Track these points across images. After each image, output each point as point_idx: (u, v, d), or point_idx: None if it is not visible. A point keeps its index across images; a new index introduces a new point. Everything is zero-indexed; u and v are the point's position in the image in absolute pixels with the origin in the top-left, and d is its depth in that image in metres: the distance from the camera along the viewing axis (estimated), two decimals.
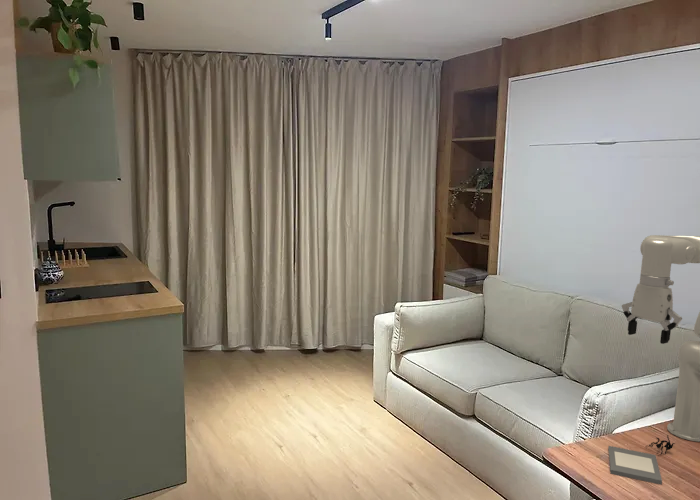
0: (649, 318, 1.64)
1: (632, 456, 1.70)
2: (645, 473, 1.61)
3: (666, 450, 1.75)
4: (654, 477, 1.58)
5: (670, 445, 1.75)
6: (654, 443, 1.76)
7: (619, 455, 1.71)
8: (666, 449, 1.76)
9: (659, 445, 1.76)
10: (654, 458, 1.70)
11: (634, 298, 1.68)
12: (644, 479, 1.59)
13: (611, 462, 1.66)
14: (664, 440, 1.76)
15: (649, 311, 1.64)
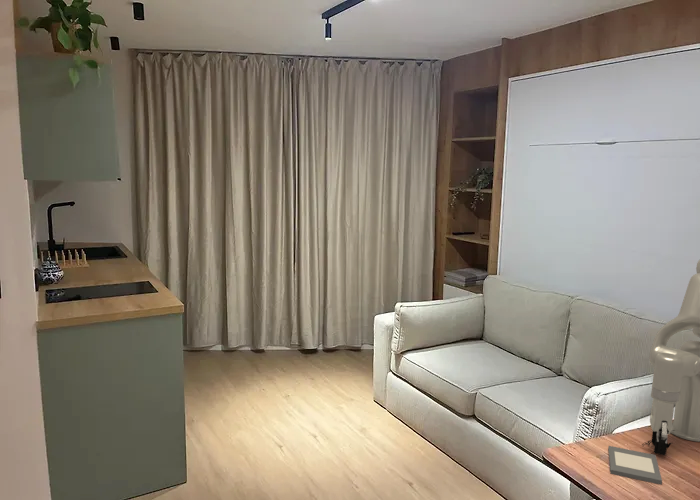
0: None
1: (632, 456, 1.70)
2: (645, 473, 1.61)
3: None
4: (654, 477, 1.58)
5: (667, 444, 1.76)
6: None
7: (619, 455, 1.71)
8: None
9: None
10: (654, 458, 1.70)
11: (672, 418, 1.70)
12: (644, 479, 1.59)
13: (611, 462, 1.66)
14: None
15: None
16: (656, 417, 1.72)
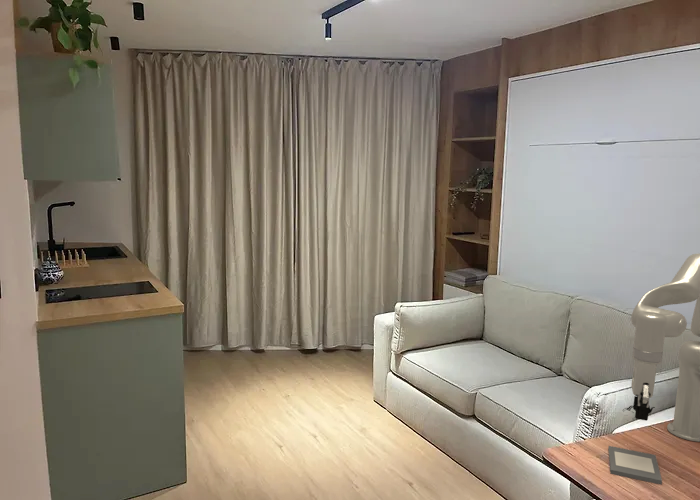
0: None
1: (632, 456, 1.70)
2: (645, 473, 1.61)
3: None
4: (654, 477, 1.58)
5: (649, 409, 1.64)
6: (632, 406, 1.65)
7: (619, 455, 1.71)
8: None
9: None
10: (654, 458, 1.70)
11: (654, 380, 1.59)
12: (644, 479, 1.59)
13: (611, 462, 1.66)
14: None
15: None
16: (637, 379, 1.60)
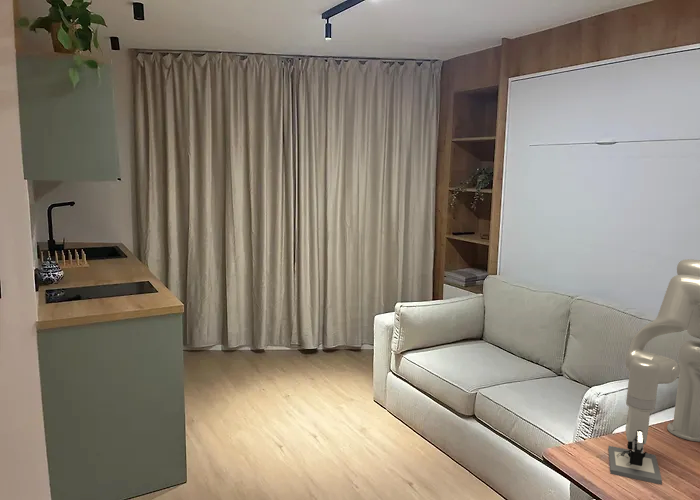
0: None
1: None
2: (645, 473, 1.61)
3: None
4: (654, 477, 1.58)
5: None
6: (626, 452, 1.67)
7: None
8: None
9: None
10: (654, 458, 1.70)
11: None
12: (644, 479, 1.59)
13: (611, 462, 1.66)
14: None
15: None
16: (631, 426, 1.61)
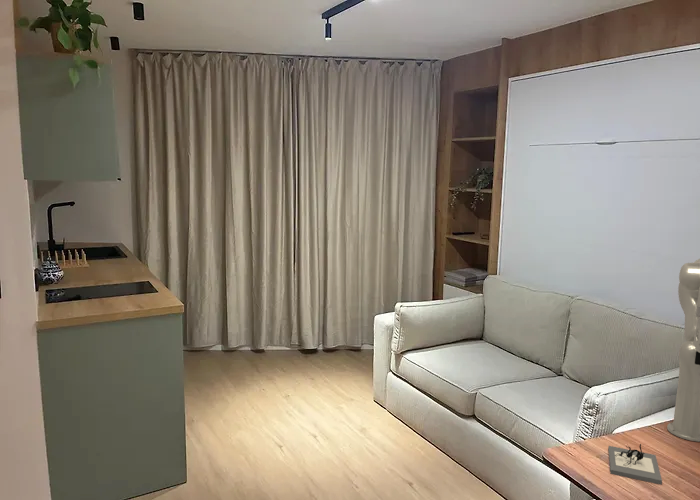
0: None
1: (632, 456, 1.70)
2: (645, 473, 1.61)
3: (636, 460, 1.65)
4: (654, 477, 1.58)
5: (641, 455, 1.65)
6: (624, 452, 1.67)
7: None
8: (637, 459, 1.66)
9: (629, 454, 1.66)
10: (654, 458, 1.70)
11: None
12: (644, 479, 1.59)
13: (611, 462, 1.66)
14: None
15: None
16: None
